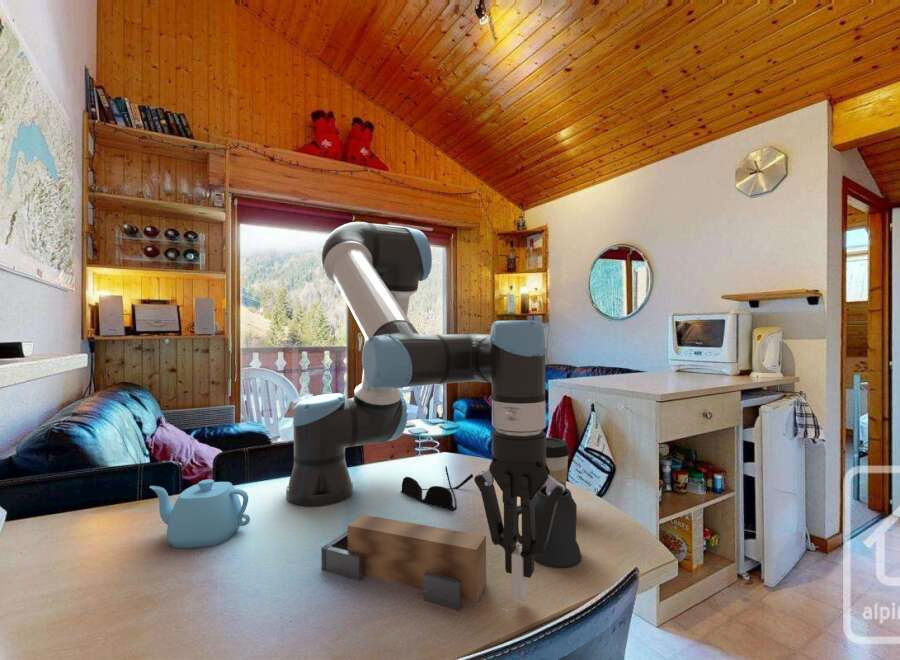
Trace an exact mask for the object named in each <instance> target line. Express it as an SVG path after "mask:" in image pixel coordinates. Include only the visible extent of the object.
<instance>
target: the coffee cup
mask: <svg viewBox="0 0 900 660" xmlns="http://www.w3.org/2000/svg"><path fill="white" fill-rule="evenodd" d="M570 455H571V448H570V447H569V446H568V443H567V441H566V440H563V439H560V438H556V437H555V438H554V437H546V464H547V467H548V468H549V471H550V476H551V477H553V478H554V479H555V480H556V481H558V482H564V483H565V484H566V485H567V477H568V470H569V469H568V468H569V466H568V463H569V462H568V461H569V456H570ZM545 485H546V484H545V483H544V485H543V486H545ZM536 494H537V493H536ZM535 496H536V495H535Z"/></svg>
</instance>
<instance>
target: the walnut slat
mask: <svg viewBox="0 0 900 660" xmlns="http://www.w3.org/2000/svg"><path fill="white" fill-rule="evenodd" d="M347 531H348V551H350V552H354V553H358V554H362V555H363V576H367V577H371V578H375V579H378V580H379V579H380V580H384V581H388V582H392V583H396V584H399V585H400V584H401V585H405V586H409V587H413V588H417V589H422V590H424V574H425V573H426V572H431V573H435V574H439V575H443V576H447V577H451V578H455V579H458V580H461V592H462V600H466V601H469V602H475V603H478V601H479V600H480V598H481V596H482V593H483V592H484V590H485V589H486V586H487V537H486V535H483V534H477V533H470V532H467V531H466V532H465V531H461V530H460V531H459V530H453V529H449V528H443V527H437V526H431V525H427V524H426V525H425V524H424V525H423V524H420V523H414V522H407V521H403V520H397V519H396V520H395V519H392V518H386V517H381V516H380V517H379V516H373V515H367V514H362V515H360V516H359V517H358V518H356V519H355V520H353V521H351V522H350V523H349V524H347Z"/></svg>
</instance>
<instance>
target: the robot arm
mask: <svg viewBox="0 0 900 660" xmlns="http://www.w3.org/2000/svg"><path fill="white" fill-rule="evenodd" d="M432 256H433V255H432V248H431V245H430V242H429V240H428V238H427V236H426V235H425V233H424V232H423V231H421V230H419V229H417V228H411V227H408V226H401V225H390V224H382V223H372V222H371V223H370V222H364V221H354V222H353V221H352V222H348V223H345V224H343V225H340V226H338V227H337V228H335V229H334V230H333V231H332V232H330V233H329V234H328V236H327V237H326V238H325V240H324V242H323V245H322V247H321V251H320V260H321V261H320V262H321V263H320V264H321V266H322V269H323V272H324V273H325V275H326V277H327V278H328V280H330V282H332V283H333V284H336V285H337V287H338V288H339V290H340V292H341V295H342V296H343V298H344V300H345V303H346V304H347V306H348V307H349V310H350V311H351V313H352V315H353V317H354V319H355V321H356V323H357V325H358V327H359V329H360V331H361V333H362V334H363V337H364V339H365V342H364V345H363V348H362V352H361V353H362V357H361V366H362V378H361V383H360V384H359V385H356V387H355V389H354V391H353V392H354V393H353V397H352V398H346V397H345V395H344V394H343V393H337V392H334V393H324V394H319V395H314V396H310V397H306V398H304V399H302V400H300V401H298V402H297V403H296V404H295V405H294V408H293V409H294V410H293V421H292V425H293V467H292V470H291V473H290V478H289V482H288V484H287V487H286V491H285V493H286V494H285V495H286V497H285V498H286V501H287V502H288V503H289V504H291V505H293V506H296V507H303V508H304V507H305V508H317V507H318V508H319V507H320V508H321V507H325V506H331V505H334V504H337V503H341V502H343V501H345V500H347V499H349V498H350V497H351V496H352V495H353V493H354V490H353V489H354V488H353V487H354V485H353V484H354V483H353V479H352V478H351V476H350V472H349V469H348V466H347V465H348V464H347V462H346V448H351V447H352V448H353V447H358V446H364V445H372V444H378V443H379V444H384V443H386V442H390V441H395V440H398V439H399V438H400V437H401V436H402V435H403V433H404V431H405V430H406V426H407V424H408V412H407V410H408V405H407V402H406V399H405V398H404V397H403V395H402V392H401V390H400V389H401V388H409V387H418V386H420V387H421V386H430V385H431V386H432V385H443V384H456V383H467V382H469V383H471V382H479V383H487V384H488V383H489V384H491V426H492V427H493V431H492V432H491V455H492V460H491V462H490V464H489V467H488V469H486V470H481V472H479V473H478V474H477V475H476V476H475V477H473V478H474V479H473V481H474V483H475V484H476V486H477V488H478V490H479V491H480V494H481V498H482V503H483V508H484V512H485V516H486V520H487V524H488V529H489V533H490V538H491V543H493V545H495V546H498V545H499V546H500V547H502V548H503V550H504V559H505V560H504V563H505V565H504V566H505V567H504V569H505V572H506V574H507V573H508V574H511V601H512V602H516V603H519V604H523V603H524V601H525V599H526V597H527V595H528V592H529V589H528V583H529V582H528V580H529V579H531V578H532V576H533V574H534V571H535V561H534V554H535V553H538V554H542V553H543V551H544V550H545V548H546V546H547V544H548V540H549V535H550V531H551V527H552V523H553V519H554V515H555V511H556V507H557V503H558V500H559V498H560V497H561V496H562V494H563V492H564V491H565V489H566V488H567V483H566V484H565V483H564V482H558V481H556V480H555V479H554V478H553V477H551V476H550V471H549V468H548V467H547V464H546V438H547V435H546V433H545V431H544V429H545V428H546V427H547V421H546V420H547V416H546V415H547V414H546V412H547V411H546V405H547V404H546V354H547V348H546V337H545V328H544V325H543V323H541V321H539V320H534V319H533V320H531V319H530V320H528V319H527V320H526V319H525V320H523V319H521V320H519V319H518V320H517V319H515V320H496V321H493V323H492V324H491V327H490V328H491V329H490V334H488V333H474V332H469V333H468V332H467V333H466V332H464V333H461V334H459V333H451V334H420V333H419V331H418V330H417V329H416V328H415V326H414V325H413V323H412V322H411V320H410V319H409V317H408V312H409V304H410V297H412V296H413V294H415V293H416V292H417V291H418V289H419V282H423V281H425V280H427V278H429V275H430V273H431V270H432V267H433V266H432V263H433V262H432V261H433V257H432ZM494 483H496V484H497V485H498V488H499V489H500V491H502V504H503V518H502V514H501V510H500V506H499V505H500V504H499V500H498V496H497V493H496V488H495V485H494ZM544 483H545V484H546V486H547V488H546V493H547V495H549V497H548V499H547V501H546V504H545V508H544V512H543V516H542V520H541V525H540V529H539V533H538V537H537V540H535V495H536V493H537V492H538V491H539V490H540V488H541V487H542V486H543V485H544ZM518 498H520V500H519V503H520V505H521V507H522V514H521V536H522V544H521V545H517V544H518V543H519V542H518V540H519V539H518V540H517V506H518Z"/></svg>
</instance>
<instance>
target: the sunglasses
mask: <svg viewBox="0 0 900 660" xmlns="http://www.w3.org/2000/svg"><path fill="white" fill-rule="evenodd" d="M445 473H446V474H445V475H446V477H447V481H448V485H449V488H447V487H444V486H440V485H433V486H430V487H429V488H422V486H420V484H419V482H418V481H417V480H416V479H415V478H413V477H412V476H411V477H410V476H405V477H403V478H402V483H401V490H400V493H401V494H405V495H406V496H408V497H409V498H412V499H414V500H416V501H417V502H419V503H422V504H426V505H429V506H432V507H433V506H434V507H437V508H442V509H445V510H449V511H451V512H454V511H456V510H457V498H456V496H455V495H456V494H455V492H454V490H458V489H460V488H461V487H462V486H464V485H465V484H466V483H468V482H469V481H470V480H471V479H473V478H474V475H473V473H470V475H469V476H467V477H466V478H465V479H464V480H463V481H462V482H461V483H459V484H458V485H456V486H454V487H452V484H451V480H450V476H449V472H448V466H447V465H446V466H445ZM423 491H426V493H425V496H424V498H423ZM453 500H454V501H453Z"/></svg>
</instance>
